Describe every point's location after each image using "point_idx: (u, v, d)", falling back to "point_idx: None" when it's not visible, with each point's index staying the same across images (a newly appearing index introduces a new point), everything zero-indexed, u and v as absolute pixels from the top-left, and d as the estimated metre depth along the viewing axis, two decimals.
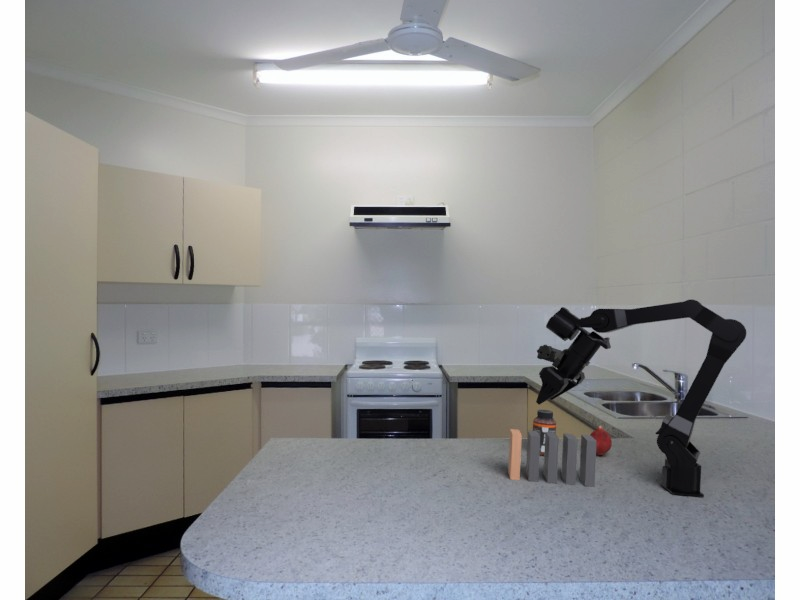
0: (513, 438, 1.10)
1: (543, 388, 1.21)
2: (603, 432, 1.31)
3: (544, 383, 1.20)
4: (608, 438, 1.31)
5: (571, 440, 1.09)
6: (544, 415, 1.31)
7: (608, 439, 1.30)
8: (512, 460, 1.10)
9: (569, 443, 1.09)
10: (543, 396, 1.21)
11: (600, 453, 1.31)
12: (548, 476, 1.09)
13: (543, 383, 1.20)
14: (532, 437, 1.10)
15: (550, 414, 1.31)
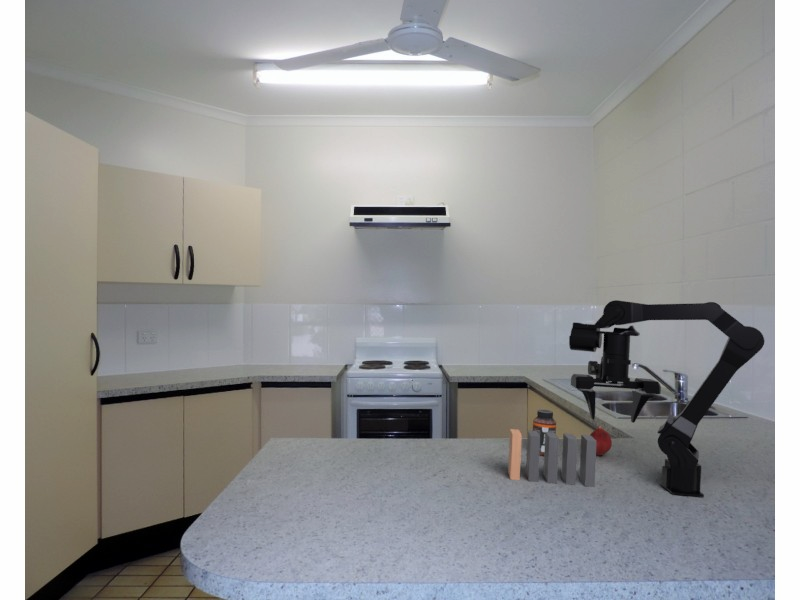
0: (513, 438, 1.10)
1: (586, 399, 1.18)
2: (603, 432, 1.31)
3: (584, 393, 1.18)
4: (608, 438, 1.31)
5: (571, 440, 1.09)
6: (544, 415, 1.31)
7: (608, 439, 1.30)
8: (512, 460, 1.10)
9: (569, 443, 1.09)
10: (589, 407, 1.16)
11: (600, 453, 1.31)
12: (548, 477, 1.09)
13: (584, 394, 1.18)
14: (532, 437, 1.10)
15: (550, 414, 1.31)
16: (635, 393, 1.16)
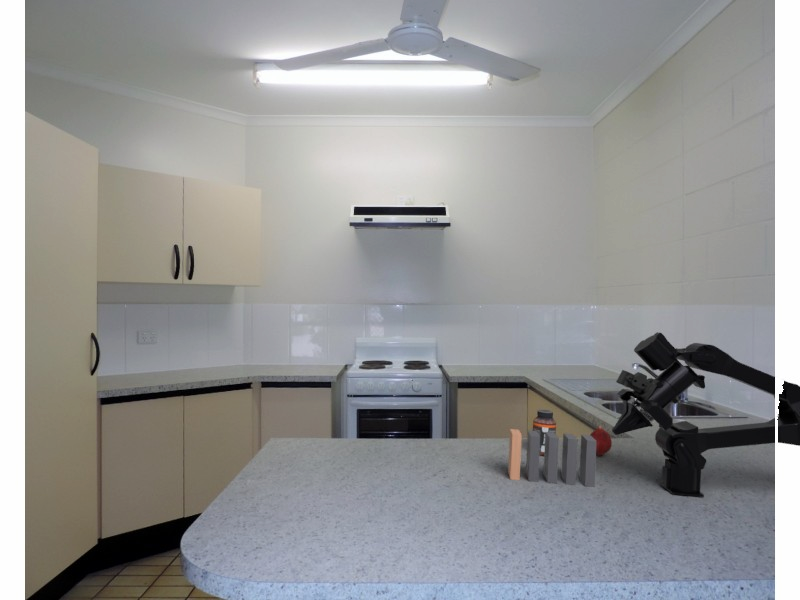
0: (513, 438, 1.10)
1: (628, 419, 1.08)
2: (603, 432, 1.31)
3: (632, 414, 1.08)
4: (608, 438, 1.31)
5: (571, 440, 1.09)
6: (544, 415, 1.31)
7: (608, 439, 1.30)
8: (512, 460, 1.10)
9: (569, 443, 1.09)
10: (625, 427, 1.09)
11: (600, 453, 1.31)
12: (548, 477, 1.09)
13: (631, 414, 1.08)
14: (532, 437, 1.10)
15: (550, 414, 1.31)
16: None
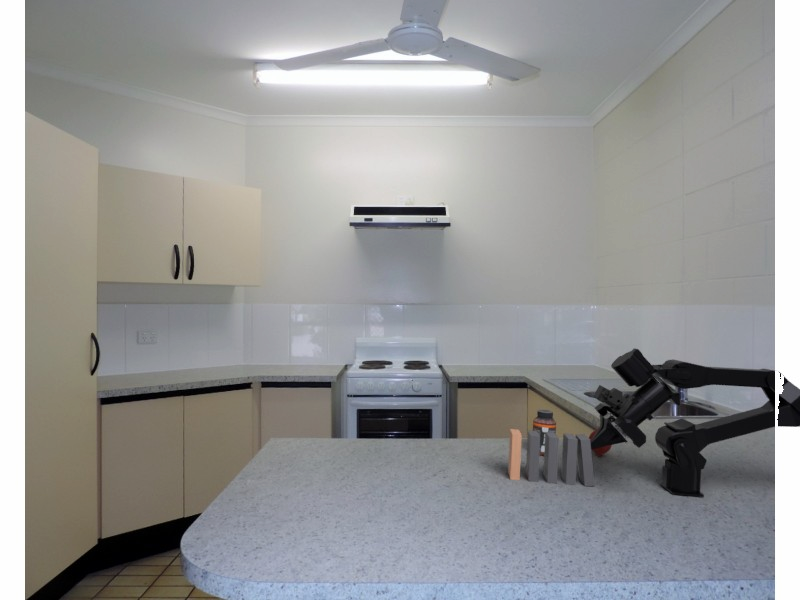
0: (513, 438, 1.10)
1: (604, 434, 1.09)
2: None
3: (608, 429, 1.08)
4: None
5: (571, 440, 1.09)
6: (544, 415, 1.31)
7: None
8: (512, 460, 1.10)
9: (569, 443, 1.09)
10: (600, 442, 1.09)
11: (600, 453, 1.31)
12: (548, 477, 1.09)
13: (607, 429, 1.08)
14: (532, 437, 1.10)
15: (550, 414, 1.31)
16: None
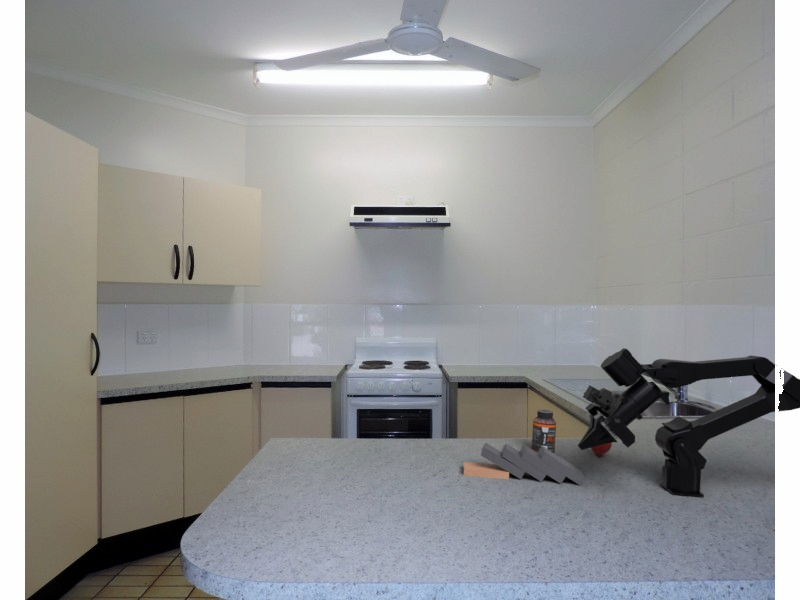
0: None
1: (594, 434, 1.09)
2: None
3: (597, 429, 1.09)
4: None
5: (523, 456, 1.10)
6: (544, 415, 1.31)
7: None
8: None
9: (525, 459, 1.10)
10: (590, 442, 1.10)
11: (600, 453, 1.31)
12: (536, 478, 1.10)
13: (596, 429, 1.09)
14: (482, 454, 1.12)
15: (550, 414, 1.31)
16: None
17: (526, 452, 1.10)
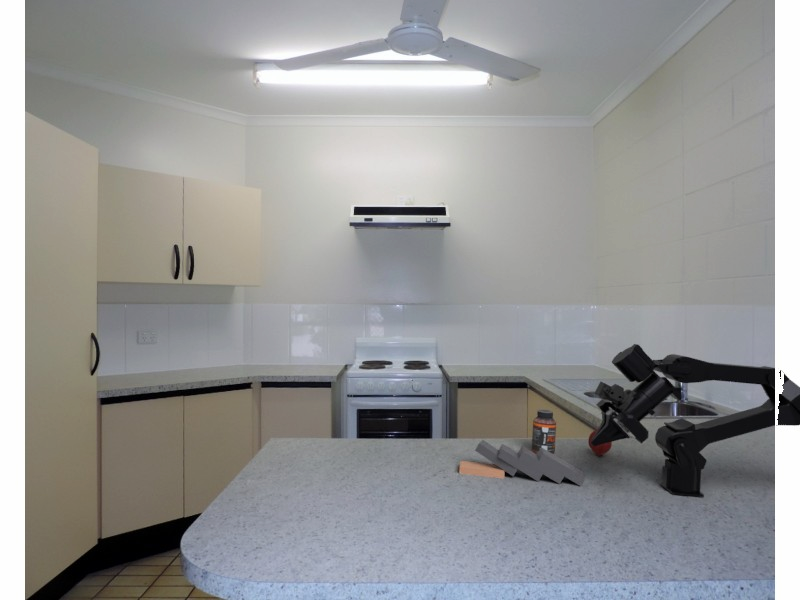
0: None
1: (606, 430, 1.09)
2: None
3: (610, 425, 1.08)
4: None
5: (521, 457, 1.10)
6: (544, 415, 1.31)
7: None
8: None
9: (523, 460, 1.10)
10: (603, 438, 1.09)
11: (600, 453, 1.31)
12: (533, 477, 1.10)
13: (609, 425, 1.08)
14: (476, 450, 1.14)
15: (550, 414, 1.31)
16: None
17: (523, 453, 1.10)
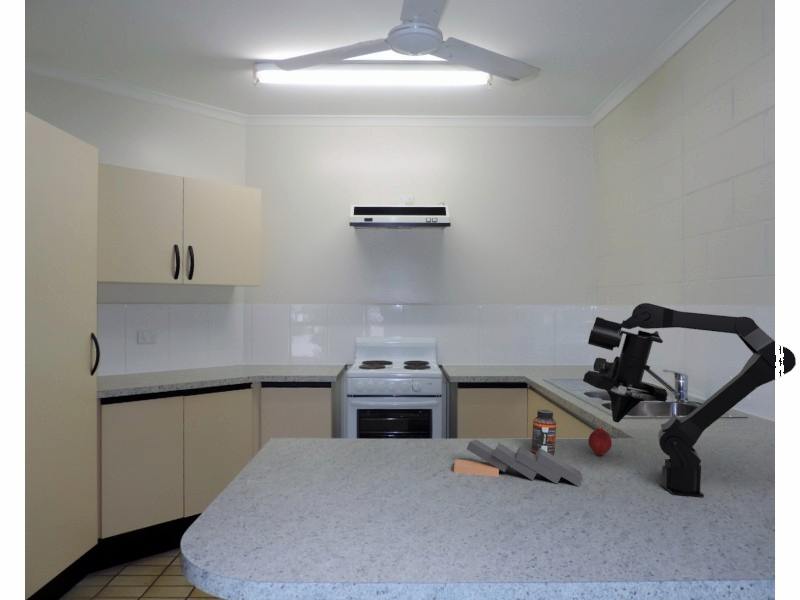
0: None
1: (612, 401, 1.14)
2: (603, 432, 1.31)
3: (611, 395, 1.15)
4: (608, 438, 1.31)
5: (518, 457, 1.11)
6: (544, 415, 1.31)
7: (608, 439, 1.30)
8: None
9: (520, 460, 1.11)
10: (615, 410, 1.14)
11: (600, 453, 1.31)
12: (527, 476, 1.10)
13: (610, 395, 1.15)
14: (468, 448, 1.17)
15: (550, 414, 1.31)
16: None
17: (520, 453, 1.11)
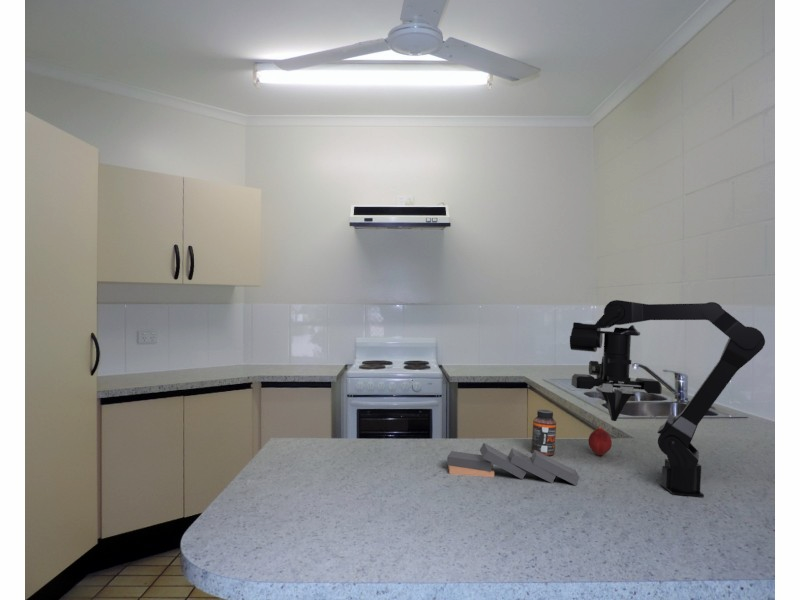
0: None
1: (606, 401, 1.17)
2: (603, 432, 1.31)
3: (604, 395, 1.17)
4: (608, 438, 1.31)
5: (512, 460, 1.10)
6: (544, 415, 1.31)
7: (608, 439, 1.30)
8: None
9: (514, 463, 1.10)
10: (609, 409, 1.16)
11: (600, 453, 1.31)
12: (517, 476, 1.10)
13: (603, 395, 1.18)
14: (448, 463, 1.14)
15: (550, 414, 1.31)
16: (617, 392, 1.17)
17: (514, 456, 1.10)
